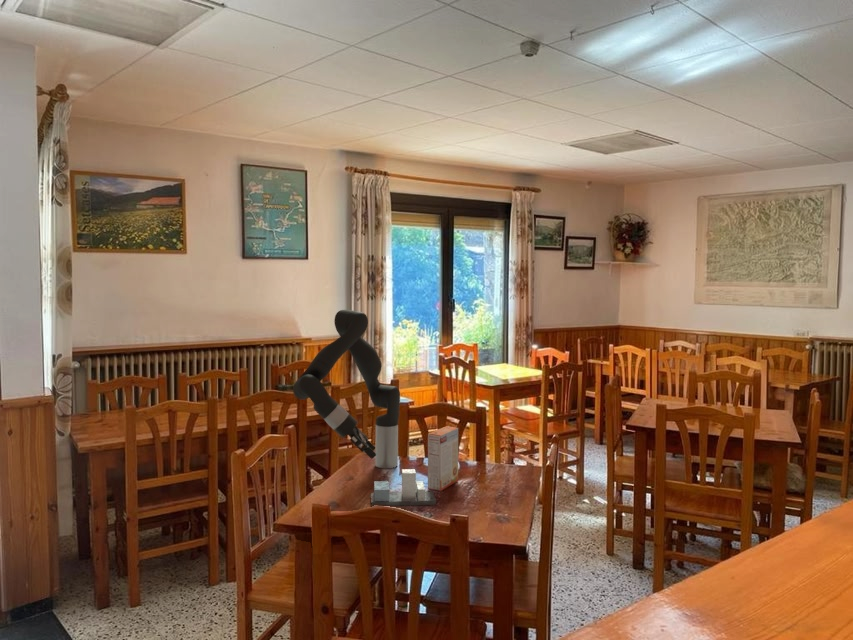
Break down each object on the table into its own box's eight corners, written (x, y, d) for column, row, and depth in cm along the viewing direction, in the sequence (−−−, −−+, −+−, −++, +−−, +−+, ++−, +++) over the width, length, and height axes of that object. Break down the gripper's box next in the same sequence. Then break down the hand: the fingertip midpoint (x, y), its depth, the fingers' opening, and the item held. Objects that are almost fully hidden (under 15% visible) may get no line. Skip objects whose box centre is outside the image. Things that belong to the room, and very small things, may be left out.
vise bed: (371, 497, 223) (371, 482, 222) (433, 495, 225) (433, 480, 225) (371, 506, 214) (371, 490, 213) (436, 504, 216) (436, 489, 216)
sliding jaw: (373, 492, 223) (374, 481, 222) (388, 492, 223) (388, 481, 223) (374, 501, 214) (374, 489, 214) (389, 501, 214) (389, 489, 214)
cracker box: (444, 478, 245) (445, 425, 243) (458, 481, 241) (459, 427, 240) (426, 488, 233) (427, 432, 231) (440, 491, 229) (441, 435, 228)
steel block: (401, 494, 222) (401, 469, 221) (414, 494, 222) (414, 469, 221) (402, 499, 217) (402, 473, 216) (415, 498, 218) (415, 473, 217)
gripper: (348, 417, 208) (382, 451, 210) (348, 408, 222) (381, 440, 224) (331, 433, 208) (366, 467, 210) (333, 423, 222) (365, 455, 224)
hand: (373, 453), depth 217 cm, fingers open, 8 cm apart
